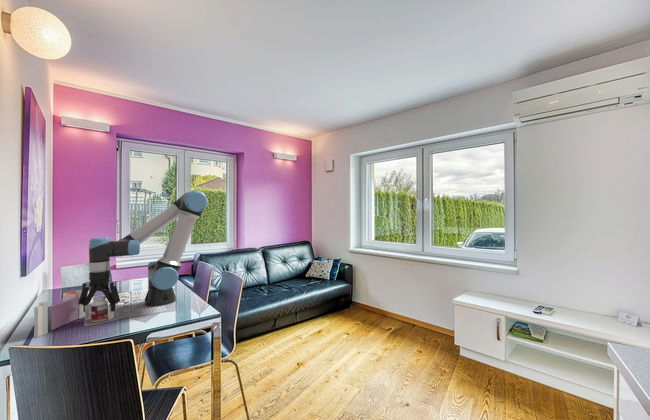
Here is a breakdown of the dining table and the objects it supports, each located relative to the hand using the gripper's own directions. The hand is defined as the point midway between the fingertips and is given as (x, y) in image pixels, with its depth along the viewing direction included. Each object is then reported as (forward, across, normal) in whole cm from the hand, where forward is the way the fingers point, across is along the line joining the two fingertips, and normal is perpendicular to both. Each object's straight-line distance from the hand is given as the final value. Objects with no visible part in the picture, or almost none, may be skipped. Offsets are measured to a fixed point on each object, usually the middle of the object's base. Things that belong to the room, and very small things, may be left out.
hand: (99, 318), depth 132 cm
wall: (+1, +12, +5) cm, 13 cm away
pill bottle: (+1, 0, 0) cm, 1 cm away
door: (0, +11, +5) cm, 13 cm away
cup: (+1, +21, -13) cm, 25 cm away
